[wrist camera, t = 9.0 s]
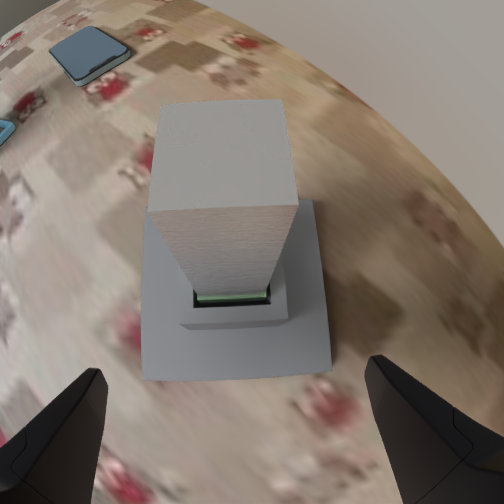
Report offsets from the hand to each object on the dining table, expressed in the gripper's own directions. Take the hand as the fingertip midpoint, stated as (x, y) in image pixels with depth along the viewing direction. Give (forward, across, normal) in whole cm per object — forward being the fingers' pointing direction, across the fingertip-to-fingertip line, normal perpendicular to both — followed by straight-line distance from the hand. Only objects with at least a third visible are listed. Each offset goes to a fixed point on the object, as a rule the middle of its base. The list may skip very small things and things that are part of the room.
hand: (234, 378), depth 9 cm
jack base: (+11, 0, +4) cm, 12 cm away
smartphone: (+34, +18, -18) cm, 42 cm away
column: (+8, 0, 0) cm, 8 cm away
